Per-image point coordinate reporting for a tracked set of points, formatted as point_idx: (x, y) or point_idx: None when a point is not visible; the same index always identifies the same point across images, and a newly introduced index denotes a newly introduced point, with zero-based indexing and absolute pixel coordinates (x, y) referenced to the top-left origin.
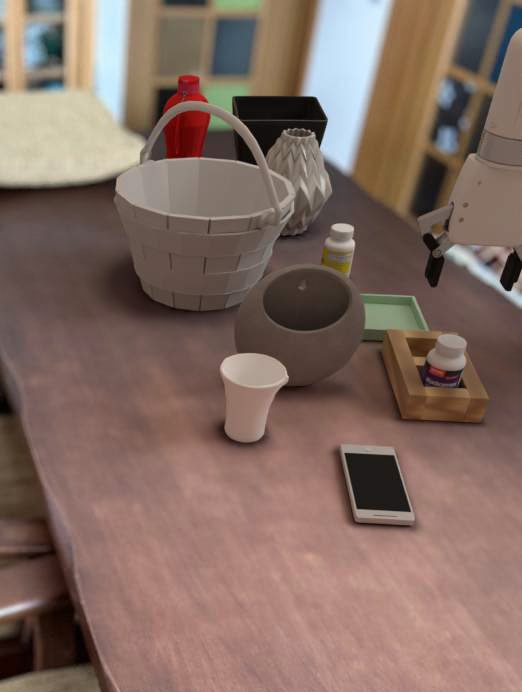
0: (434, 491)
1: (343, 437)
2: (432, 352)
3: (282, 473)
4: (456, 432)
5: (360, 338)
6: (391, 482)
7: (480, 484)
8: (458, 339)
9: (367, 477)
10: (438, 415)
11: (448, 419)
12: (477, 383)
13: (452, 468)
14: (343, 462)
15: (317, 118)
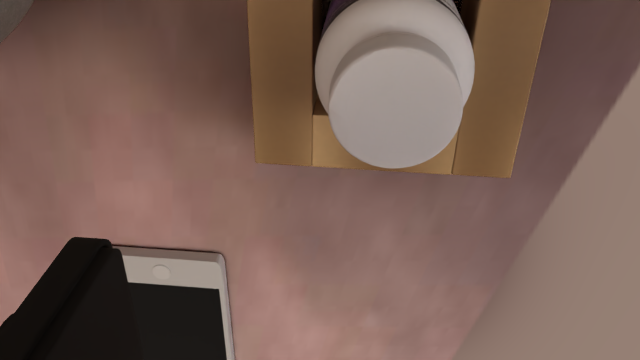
0: (294, 351)
1: (114, 201)
2: (329, 70)
3: (6, 306)
4: (406, 177)
5: (2, 34)
6: (205, 357)
7: (394, 337)
8: (429, 99)
9: (160, 345)
10: None
11: None
12: (513, 89)
13: (350, 296)
14: None
15: None
